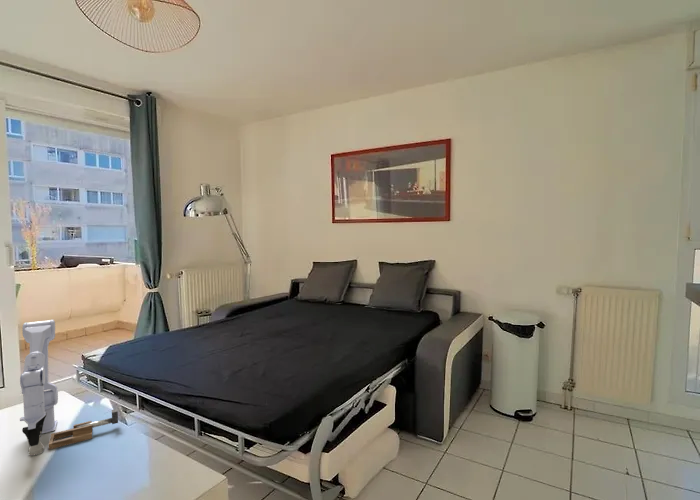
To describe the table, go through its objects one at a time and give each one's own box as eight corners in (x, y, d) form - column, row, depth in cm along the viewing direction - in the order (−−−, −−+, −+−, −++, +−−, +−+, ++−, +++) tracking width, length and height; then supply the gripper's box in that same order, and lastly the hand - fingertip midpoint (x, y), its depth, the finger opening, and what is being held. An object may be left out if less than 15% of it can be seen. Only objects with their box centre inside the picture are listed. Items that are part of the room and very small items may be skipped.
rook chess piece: (35, 456, 132) (34, 434, 132) (25, 455, 133) (23, 433, 132) (47, 449, 136) (46, 428, 136) (37, 448, 137) (36, 427, 137)
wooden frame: (51, 438, 144) (51, 428, 144) (92, 428, 151) (91, 418, 151) (48, 449, 136) (48, 438, 136) (91, 438, 143) (91, 427, 143)
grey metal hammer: (77, 429, 146) (76, 418, 146) (117, 419, 153) (117, 408, 153) (76, 433, 143) (76, 421, 143) (118, 422, 151) (117, 411, 150)
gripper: (23, 399, 138) (24, 435, 138) (15, 414, 126) (17, 453, 126) (47, 394, 142) (49, 429, 142) (42, 408, 130) (44, 446, 130)
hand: (35, 440), depth 134 cm, fingers open, 7 cm apart
